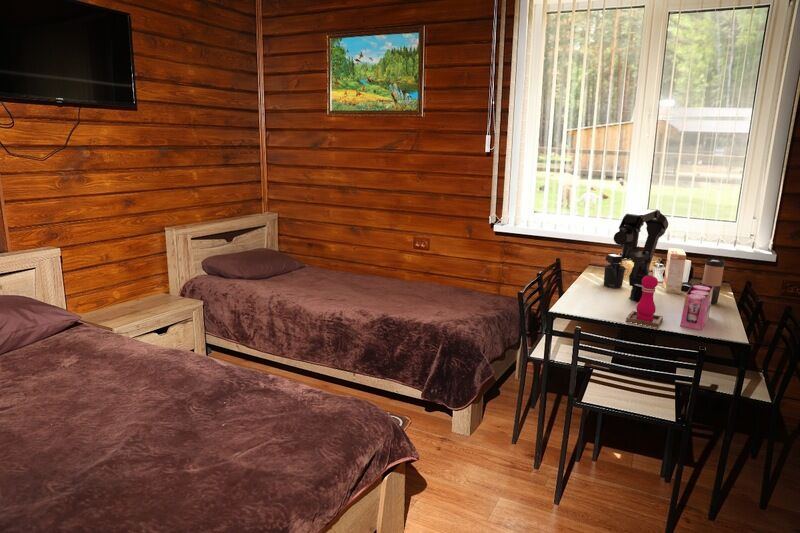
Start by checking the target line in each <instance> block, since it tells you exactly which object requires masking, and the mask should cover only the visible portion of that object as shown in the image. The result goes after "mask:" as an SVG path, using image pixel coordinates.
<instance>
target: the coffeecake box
mask: <svg viewBox="0 0 800 533" xmlns="http://www.w3.org/2000/svg"><path fill="white" fill-rule="evenodd" d="M667 249H668V251H667V257H666V265H665V271H664V277H663V283H662V284H663V285H662V286H663V289H664V292H665V293H668V292H669V293H670V294H677V293H678V294H680V295H681V293H682V286H683V285H682V284H683V280H684V272H685V266H686V261H687V260H686V258H687V254H686V252H685V250H684V249H681V248H674V247H668V248H667Z"/></svg>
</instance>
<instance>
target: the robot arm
mask: <svg viewBox="0 0 800 533" xmlns="http://www.w3.org/2000/svg"><path fill="white" fill-rule="evenodd" d="M620 222H621V223H620V225H619V226H618V229H619V230H618V231H617V232H615V233H614V236H613V241H614V243H615V244H616V245H618V246H621V247H622V249H621V250H622V251H621V252H619V255H618V254H615V253H613V254H609V253H608V254H606V256H605V261H607V263H609V265H611V267H612V269H613V272H614V275H615V278H618V273H619V267H620V266H622V264H621V262H624V261H628V262H629V261H631V262H632V263H633V267H632V269H631V271H630V273H629V277H628V284H629V286H630V287H631V289H630V296H628V299H630V300H632V301H634V302H637V303H639V301H640V299H641V297H642V294H643V291H642V287H643V285H642V279H643V277H645V276H648V274H649V272H651V270H650V268H651V267H650V266H651V264H652V260H653V257H654V254H655V251H656V249H657V245H658V242H659V239H660V238H661V237H662V236H664V234H665V233H666V231H667V229H668V227H669V222H668V219H667V217H666V216H665V215H664V214H662V212H661V211H660V209H656V208H647V209H646V210H644V211H643V210H642V211H640V212H637V213H635V212H627V213H626V214H625V215H624V216H623V217H622V220H621V221H620ZM644 223H645V224H644ZM644 225H646V227H645V229H646V232H647V237H646V240H645V242H644V245H643V246H644V247H643V250H642V251H640V246H639V245H638V242H639V235H640V232H642V231H641V228H642V227H643V226H644Z"/></svg>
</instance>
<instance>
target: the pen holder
mask: <svg viewBox="0 0 800 533" xmlns="http://www.w3.org/2000/svg"><path fill="white" fill-rule="evenodd" d="M625 272H626V269H625V266H622V265H620V267H619V273H618V278H615V275H614V272H613V269H612V267H611V264H606V265H605V267H604V274H603V285H604V287H607V288H610V287H611V288H612V289H621V288H622V287H623V283H624V277H625ZM620 287H621V288H620Z"/></svg>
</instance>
